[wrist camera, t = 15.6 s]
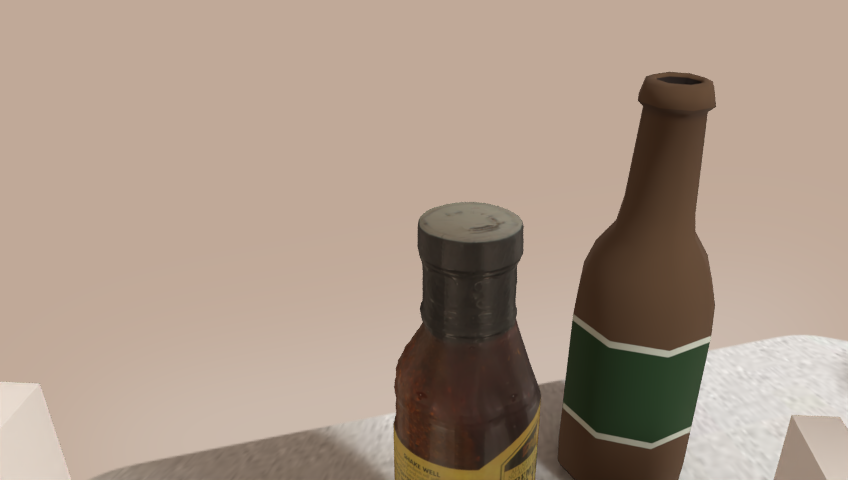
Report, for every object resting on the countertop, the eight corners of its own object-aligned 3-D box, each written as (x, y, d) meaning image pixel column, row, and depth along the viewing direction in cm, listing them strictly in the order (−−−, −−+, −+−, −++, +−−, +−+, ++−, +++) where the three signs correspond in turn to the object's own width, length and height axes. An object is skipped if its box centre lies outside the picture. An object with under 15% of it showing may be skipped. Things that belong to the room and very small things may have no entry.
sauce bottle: (527, 659, 32) (564, 268, 24) (389, 648, 33) (376, 260, 24) (522, 541, 38) (551, 193, 30) (405, 533, 39) (399, 188, 30)
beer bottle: (540, 423, 48) (576, 61, 38) (652, 415, 49) (719, 59, 38) (573, 513, 41) (629, 102, 31) (704, 504, 42) (803, 98, 31)
